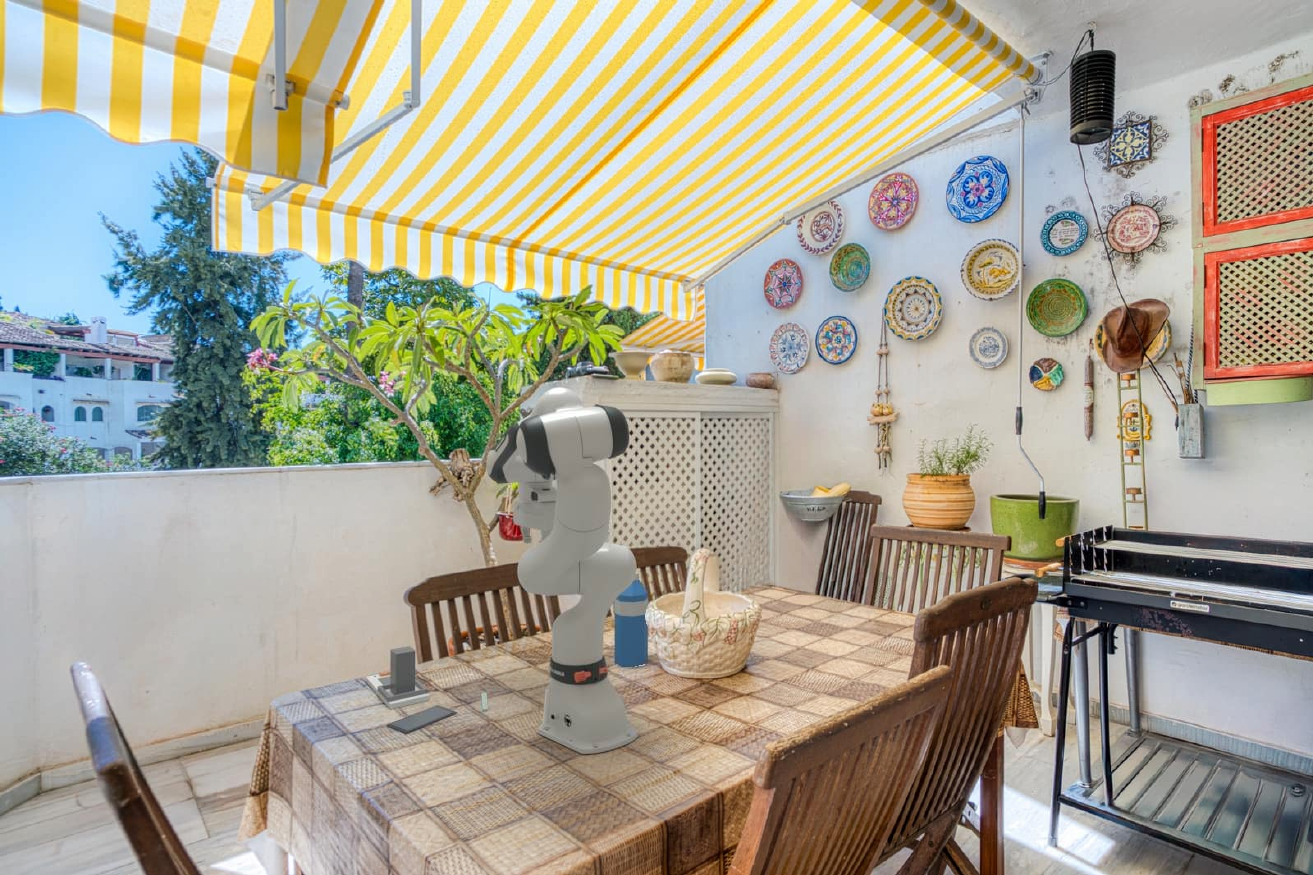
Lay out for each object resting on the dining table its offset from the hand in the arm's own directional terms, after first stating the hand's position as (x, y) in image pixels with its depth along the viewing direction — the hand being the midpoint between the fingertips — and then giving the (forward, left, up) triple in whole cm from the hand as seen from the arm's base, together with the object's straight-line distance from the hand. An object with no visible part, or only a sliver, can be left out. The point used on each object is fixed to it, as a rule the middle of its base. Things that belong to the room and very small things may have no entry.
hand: (535, 545), depth 172 cm
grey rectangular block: (+6, +32, -33) cm, 46 cm away
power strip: (+11, +32, -34) cm, 48 cm away
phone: (-10, +32, -35) cm, 49 cm away
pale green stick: (-10, +18, -34) cm, 40 cm away
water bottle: (-7, -26, -34) cm, 44 cm away
